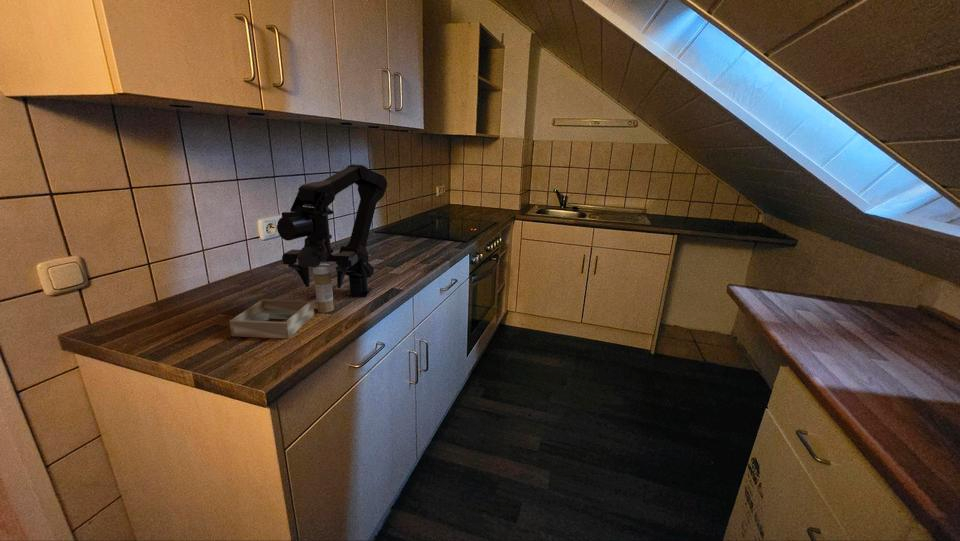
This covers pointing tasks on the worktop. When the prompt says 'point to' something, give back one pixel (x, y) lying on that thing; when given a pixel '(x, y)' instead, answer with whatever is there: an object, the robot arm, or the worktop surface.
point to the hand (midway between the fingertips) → (323, 287)
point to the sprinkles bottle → (323, 288)
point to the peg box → (258, 315)
